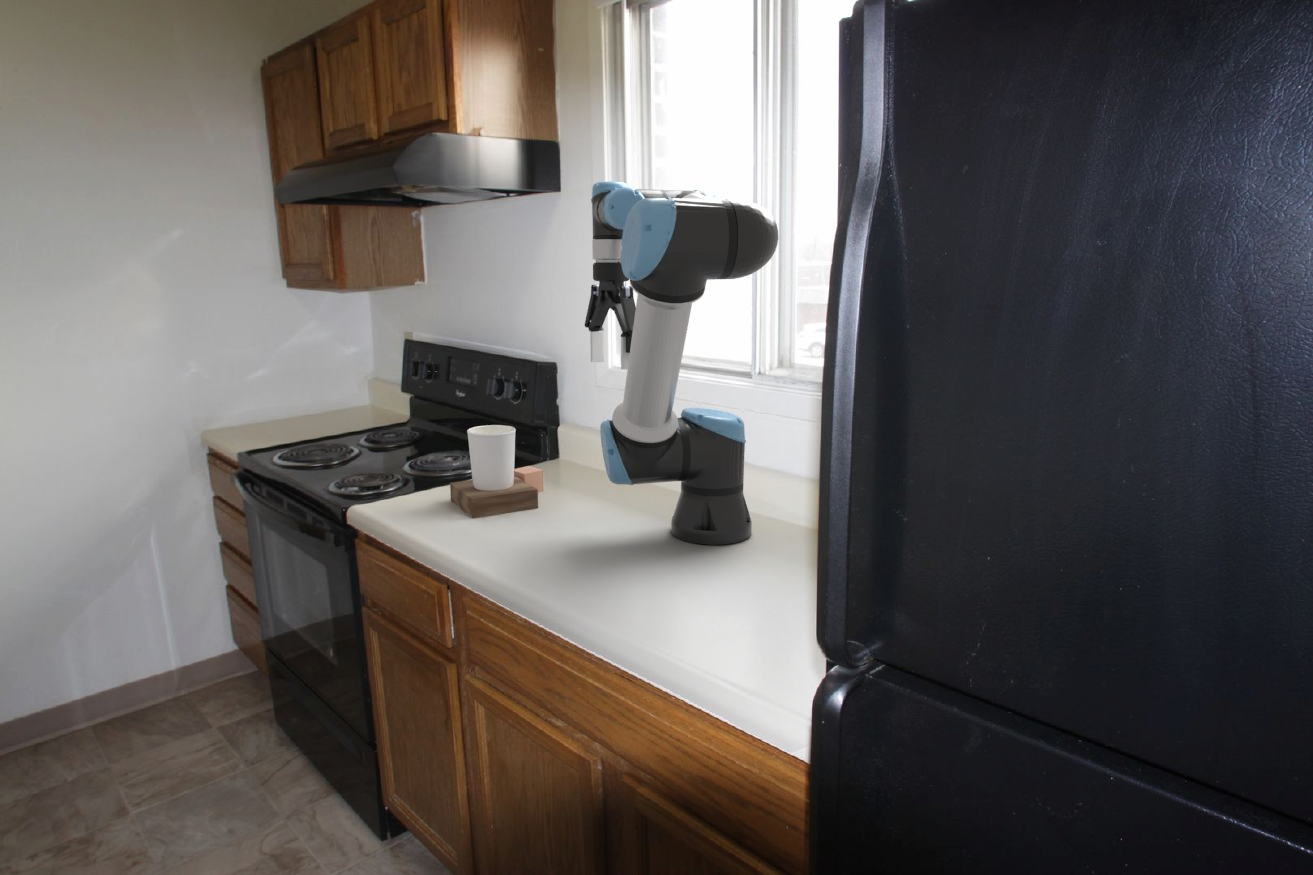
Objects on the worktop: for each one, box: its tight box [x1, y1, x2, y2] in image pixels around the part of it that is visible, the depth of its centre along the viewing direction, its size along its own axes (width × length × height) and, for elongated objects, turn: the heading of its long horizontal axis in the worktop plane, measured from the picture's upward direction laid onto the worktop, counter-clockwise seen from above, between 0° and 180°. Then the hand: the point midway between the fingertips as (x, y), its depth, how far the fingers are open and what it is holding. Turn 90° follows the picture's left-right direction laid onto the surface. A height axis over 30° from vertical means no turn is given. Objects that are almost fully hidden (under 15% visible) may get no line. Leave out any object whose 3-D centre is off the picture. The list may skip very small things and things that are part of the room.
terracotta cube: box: [514, 465, 544, 494], centre depth 182 cm, size 5×5×5 cm
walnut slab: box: [449, 476, 539, 519], centre depth 172 cm, size 14×14×4 cm
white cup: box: [466, 424, 517, 491], centre depth 170 cm, size 10×10×12 cm
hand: (611, 365), depth 172 cm, fingers open, 13 cm apart
